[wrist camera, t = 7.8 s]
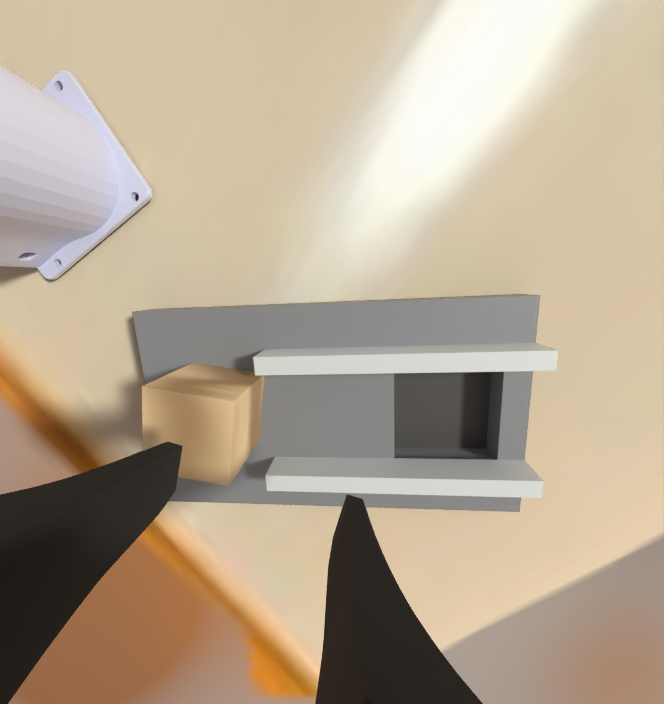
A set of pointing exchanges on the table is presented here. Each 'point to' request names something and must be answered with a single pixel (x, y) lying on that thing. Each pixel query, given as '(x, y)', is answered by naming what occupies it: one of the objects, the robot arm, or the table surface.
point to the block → (205, 418)
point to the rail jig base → (370, 397)
